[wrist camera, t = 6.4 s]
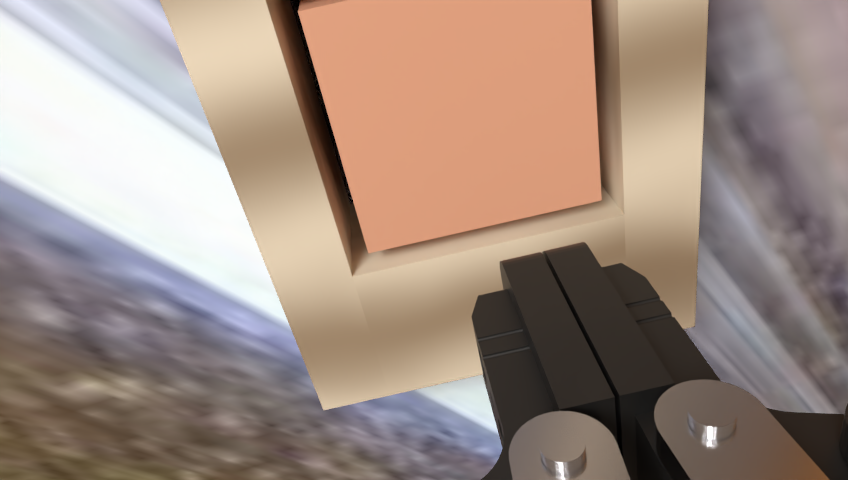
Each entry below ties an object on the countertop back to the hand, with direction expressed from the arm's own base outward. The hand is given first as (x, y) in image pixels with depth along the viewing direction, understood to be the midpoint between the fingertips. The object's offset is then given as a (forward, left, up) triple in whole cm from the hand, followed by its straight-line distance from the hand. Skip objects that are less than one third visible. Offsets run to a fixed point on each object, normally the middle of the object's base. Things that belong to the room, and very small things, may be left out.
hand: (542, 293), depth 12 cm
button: (0, 0, -12) cm, 12 cm away
